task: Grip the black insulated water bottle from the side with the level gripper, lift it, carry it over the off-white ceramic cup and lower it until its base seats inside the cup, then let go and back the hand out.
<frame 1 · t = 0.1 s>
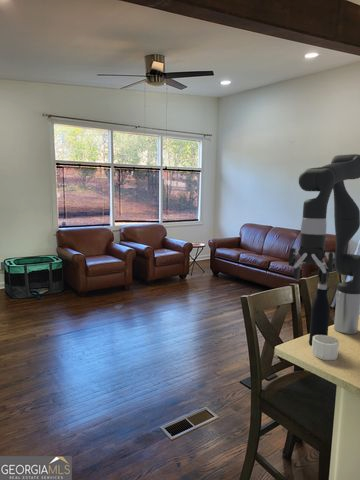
hand: (309, 281, 112), 29 cm above the table, tool pointing down, fingers open, 8 cm apart
ceramic cup: (324, 354, 125), on the table
black insulated water bottle: (317, 345, 134), on the table
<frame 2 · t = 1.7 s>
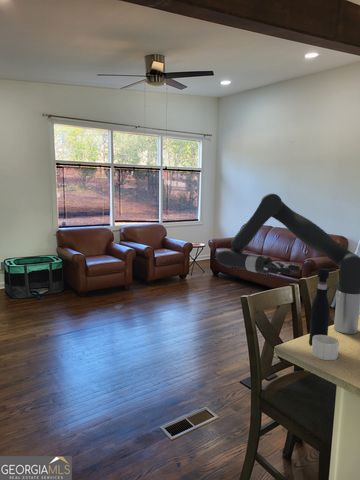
hand: (295, 270, 137), 28 cm above the table, tool horizontal, fingers open, 8 cm apart
nothing on the table moved.
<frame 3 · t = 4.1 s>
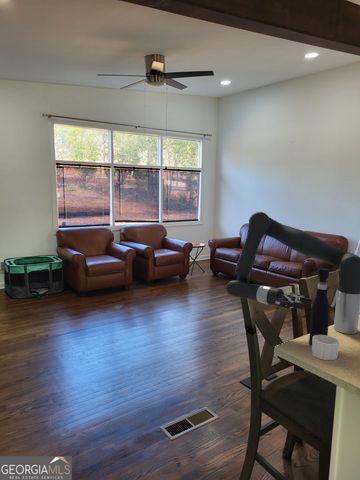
hand: (307, 304, 135), 15 cm above the table, tool horizontal, fingers open, 8 cm apart
nothing on the table moved.
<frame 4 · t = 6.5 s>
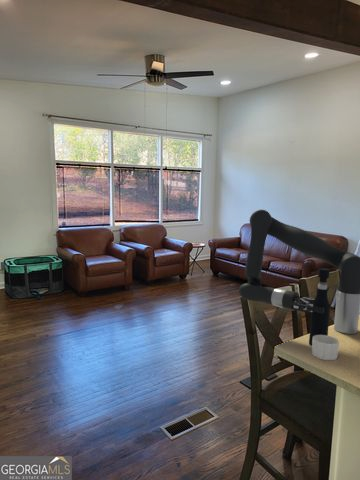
hand: (327, 308, 130), 15 cm above the table, tool horizontal, fingers closed on black insulated water bottle, 6 cm apart
black insulated water bottle: (317, 345, 134), on the table, touching gripper
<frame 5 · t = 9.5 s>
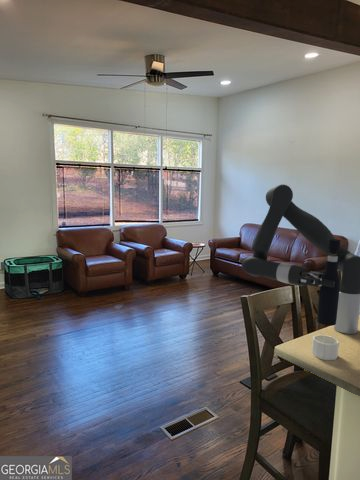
hand: (337, 282, 120), 27 cm above the table, tool horizontal, fingers closed on black insulated water bottle, 6 cm apart
black insulated water bottle: (326, 322, 124), point 12 cm above the table, touching gripper
when the fingers open (17 cm above the table, at t = 12.6 s): black insulated water bottle drops 1 cm, resting on ceramic cup.
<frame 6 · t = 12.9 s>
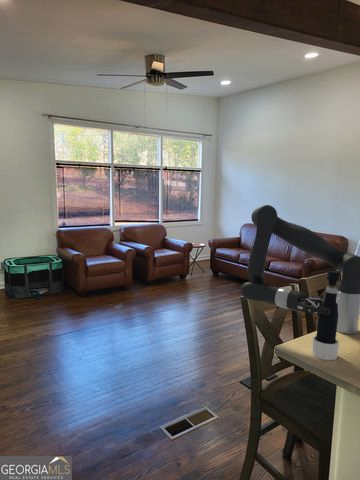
hand: (333, 309, 122), 18 cm above the table, tool horizontal, fingers open, 8 cm apart
black insulated water bottle: (323, 352, 125), point 1 cm above the table, touching ceramic cup
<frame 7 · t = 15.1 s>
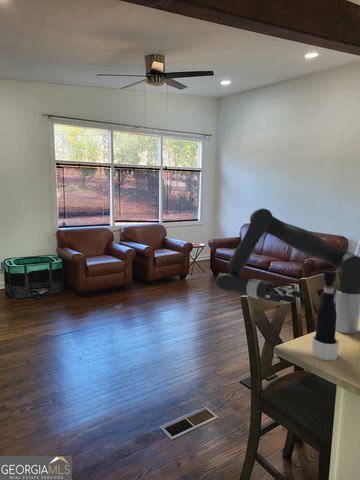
hand: (298, 297, 130), 19 cm above the table, tool horizontal, fingers open, 8 cm apart
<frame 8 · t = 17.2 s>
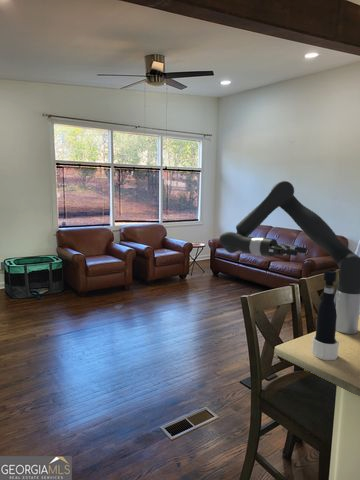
hand: (302, 251, 131), 36 cm above the table, tool horizontal, fingers open, 8 cm apart
nothing on the table moved.
at the end: black insulated water bottle 0.2 cm off-centre on the ceramic cup, point 0.6 cm above the ceramic cup's base; black insulated water bottle tilted 0°; the gripper is holding nothing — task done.
